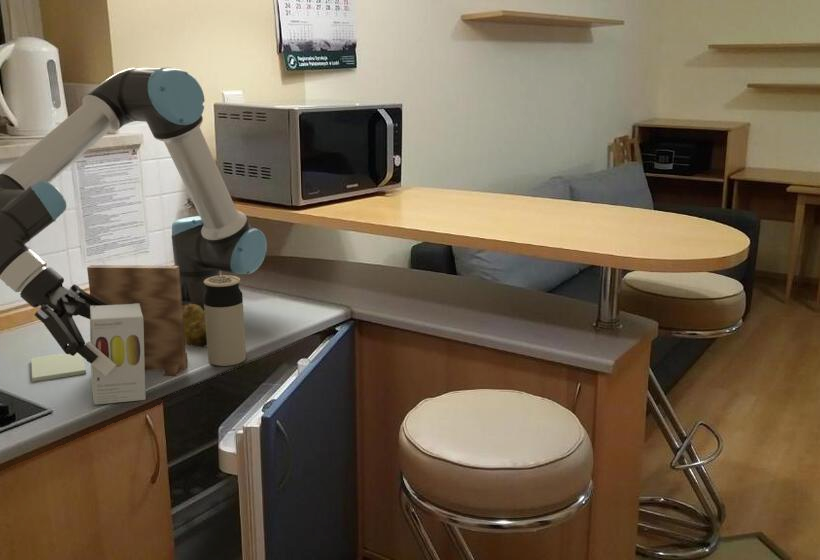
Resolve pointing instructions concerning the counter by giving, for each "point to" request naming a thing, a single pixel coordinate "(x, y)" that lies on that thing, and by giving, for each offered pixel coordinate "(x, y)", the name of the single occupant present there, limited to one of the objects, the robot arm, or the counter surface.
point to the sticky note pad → (57, 366)
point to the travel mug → (224, 320)
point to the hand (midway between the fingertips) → (124, 357)
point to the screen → (148, 308)
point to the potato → (194, 325)
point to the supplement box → (118, 352)
